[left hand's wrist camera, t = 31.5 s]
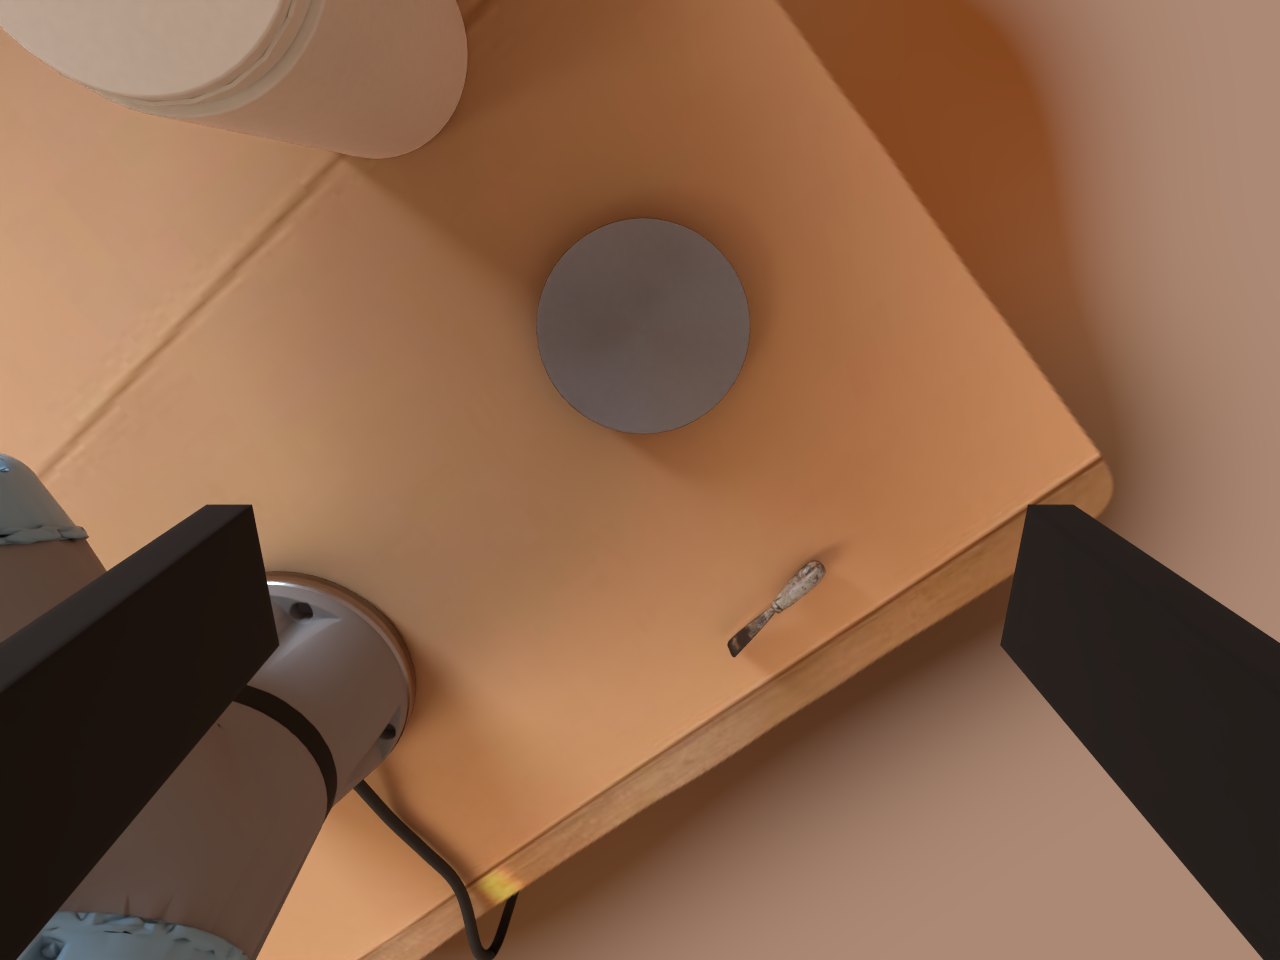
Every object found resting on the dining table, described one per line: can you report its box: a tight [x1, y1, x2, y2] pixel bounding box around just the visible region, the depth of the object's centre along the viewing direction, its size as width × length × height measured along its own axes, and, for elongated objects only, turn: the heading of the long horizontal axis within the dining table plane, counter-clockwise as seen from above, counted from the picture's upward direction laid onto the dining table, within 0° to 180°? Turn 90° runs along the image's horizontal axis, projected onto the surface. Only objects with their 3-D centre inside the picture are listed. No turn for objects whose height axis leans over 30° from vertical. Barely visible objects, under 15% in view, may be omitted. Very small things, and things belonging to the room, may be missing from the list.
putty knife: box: [728, 561, 826, 657], centre depth 45 cm, size 1×8×2 cm, turn 139°
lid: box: [537, 218, 750, 434], centre depth 39 cm, size 11×11×2 cm
